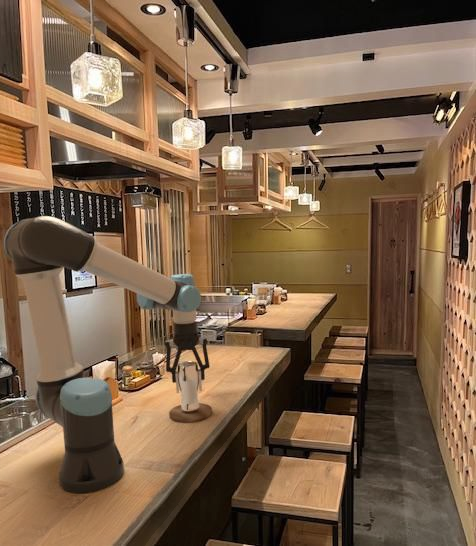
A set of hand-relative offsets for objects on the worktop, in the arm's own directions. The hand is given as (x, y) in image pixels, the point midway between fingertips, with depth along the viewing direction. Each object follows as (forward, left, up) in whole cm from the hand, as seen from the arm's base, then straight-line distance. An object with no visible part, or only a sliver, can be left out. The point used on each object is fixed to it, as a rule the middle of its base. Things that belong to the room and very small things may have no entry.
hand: (189, 390), depth 147 cm
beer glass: (0, 0, -6) cm, 6 cm away
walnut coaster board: (0, 0, -8) cm, 8 cm away
